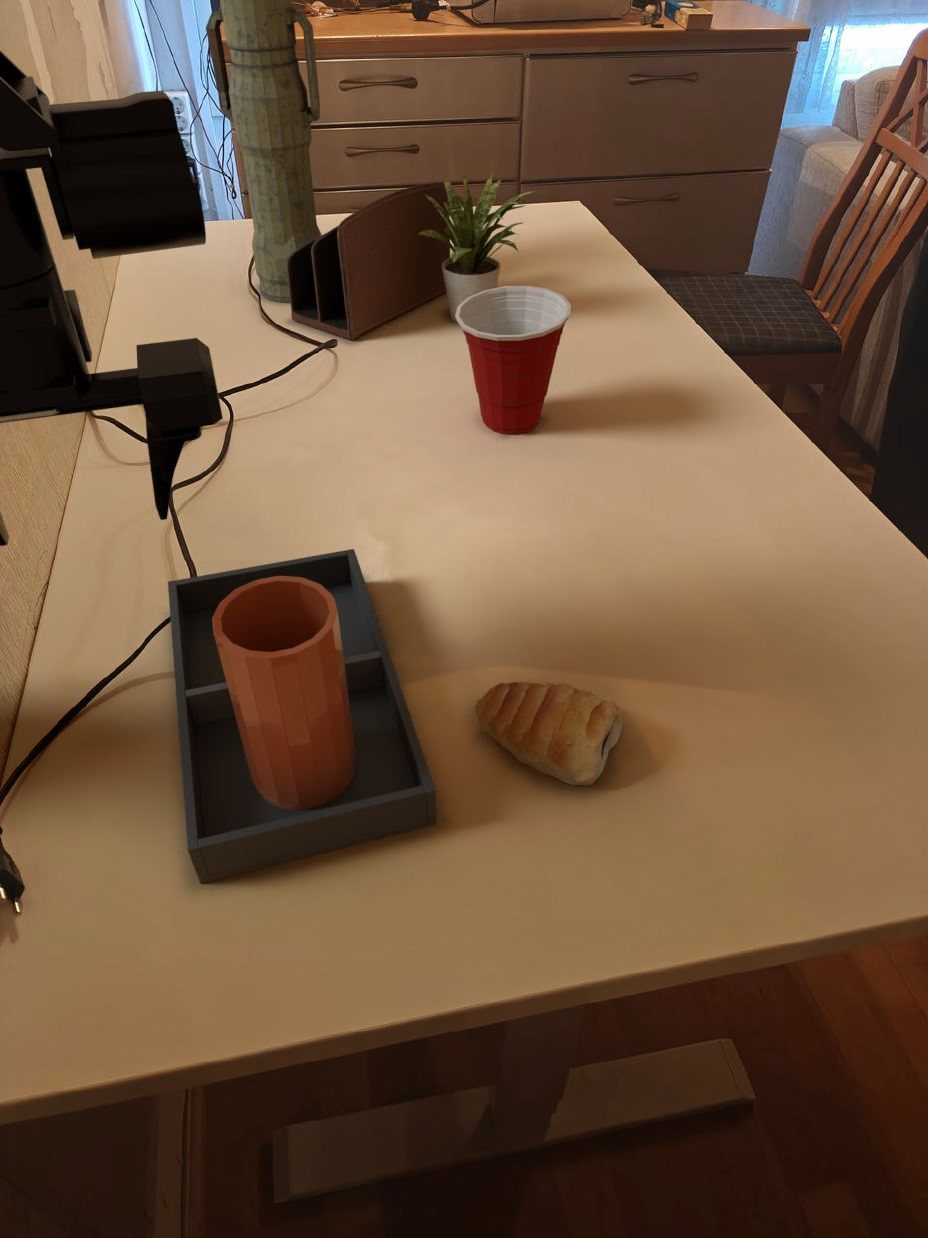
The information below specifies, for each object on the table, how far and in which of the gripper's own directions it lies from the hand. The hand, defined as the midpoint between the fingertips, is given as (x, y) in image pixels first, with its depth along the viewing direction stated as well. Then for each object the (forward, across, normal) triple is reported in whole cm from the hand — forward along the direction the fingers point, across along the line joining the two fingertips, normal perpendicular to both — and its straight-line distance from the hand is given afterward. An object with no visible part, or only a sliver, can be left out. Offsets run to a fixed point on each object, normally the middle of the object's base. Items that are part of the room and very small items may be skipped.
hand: (85, 528), depth 53 cm
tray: (+13, -10, +6) cm, 17 cm away
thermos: (+13, -21, -68) cm, 72 cm away
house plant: (+13, -41, -52) cm, 67 cm away
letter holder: (+13, -30, -60) cm, 68 cm away
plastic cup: (+13, -37, -27) cm, 48 cm away
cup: (+12, -10, +12) cm, 20 cm away
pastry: (+13, -26, +14) cm, 32 cm away
